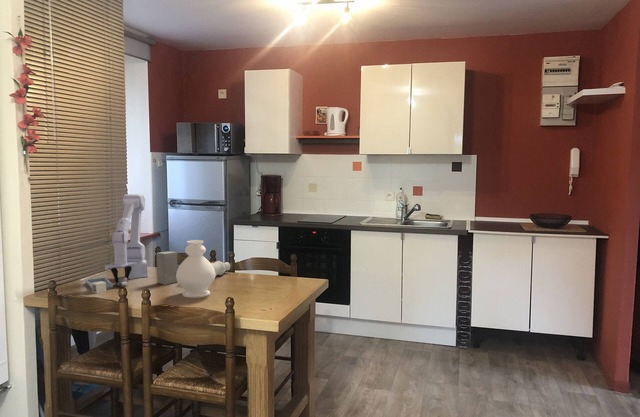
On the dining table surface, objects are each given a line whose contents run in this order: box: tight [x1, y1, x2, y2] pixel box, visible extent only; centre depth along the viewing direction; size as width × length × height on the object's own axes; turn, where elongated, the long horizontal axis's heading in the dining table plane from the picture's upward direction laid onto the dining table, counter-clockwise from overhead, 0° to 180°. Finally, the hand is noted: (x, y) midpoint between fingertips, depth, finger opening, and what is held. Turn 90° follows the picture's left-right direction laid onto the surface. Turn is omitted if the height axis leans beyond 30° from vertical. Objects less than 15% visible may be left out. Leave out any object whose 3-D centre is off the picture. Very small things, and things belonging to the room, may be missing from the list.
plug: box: [115, 275, 128, 288], centre depth 256 cm, size 12×4×4 cm, turn 35°
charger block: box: [91, 281, 107, 294], centre depth 244 cm, size 5×4×4 cm
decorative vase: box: [176, 239, 216, 299], centre depth 239 cm, size 18×18×25 cm
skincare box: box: [156, 250, 178, 286], centre depth 261 cm, size 8×7×16 cm
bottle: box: [210, 260, 231, 277], centre depth 272 cm, size 9×9×30 cm
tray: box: [85, 277, 114, 290], centre depth 255 cm, size 17×9×2 cm, turn 35°
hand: (121, 282), depth 257 cm, fingers closed on plug, 4 cm apart
